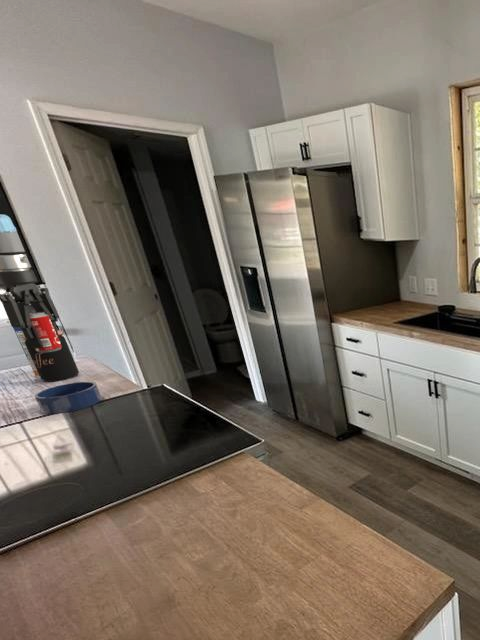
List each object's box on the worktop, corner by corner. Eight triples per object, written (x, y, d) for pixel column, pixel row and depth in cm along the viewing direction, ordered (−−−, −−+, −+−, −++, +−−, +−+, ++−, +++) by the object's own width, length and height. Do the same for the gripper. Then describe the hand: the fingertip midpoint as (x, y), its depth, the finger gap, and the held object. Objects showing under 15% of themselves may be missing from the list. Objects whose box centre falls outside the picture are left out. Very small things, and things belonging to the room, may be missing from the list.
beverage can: (41, 349, 132) (25, 312, 128) (66, 347, 135) (50, 310, 130) (32, 354, 127) (15, 316, 123) (57, 351, 130) (41, 314, 126)
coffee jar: (34, 381, 159) (13, 336, 153) (67, 372, 169) (49, 329, 162) (54, 383, 157) (34, 337, 150) (87, 374, 167) (69, 330, 160)
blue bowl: (28, 415, 130) (20, 399, 128) (67, 397, 144) (60, 383, 142) (79, 412, 132) (72, 396, 130) (112, 394, 146) (107, 380, 144)
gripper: (-4, 273, 114) (33, 353, 122) (55, 266, 131) (84, 337, 140) (-35, 274, 113) (4, 354, 121) (29, 267, 130) (59, 338, 139)
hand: (47, 345), depth 130 cm, fingers closed on beverage can, 6 cm apart
